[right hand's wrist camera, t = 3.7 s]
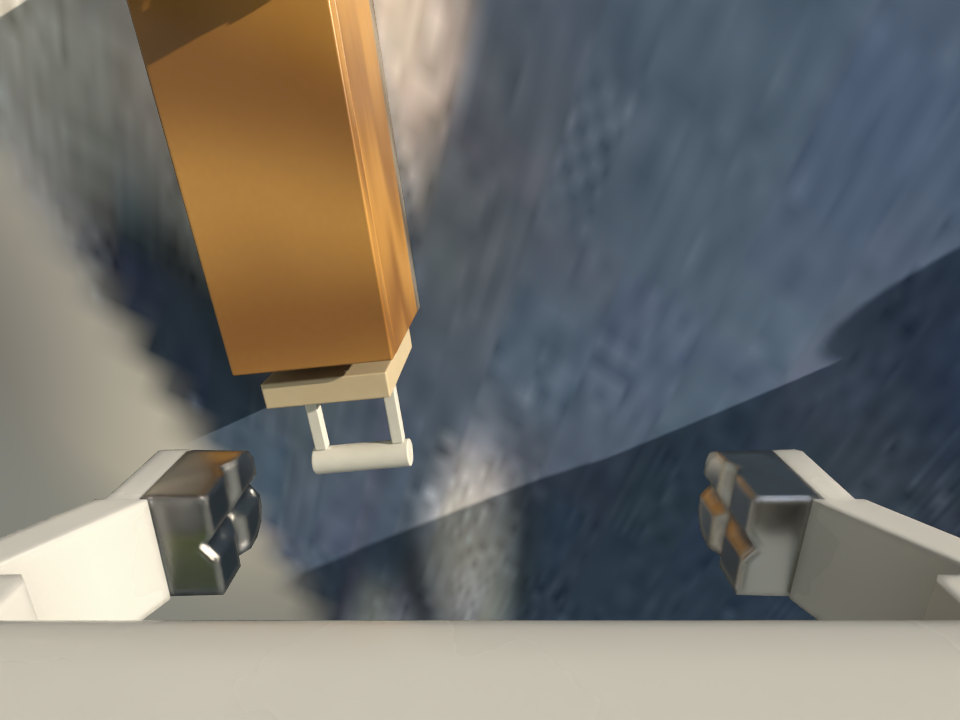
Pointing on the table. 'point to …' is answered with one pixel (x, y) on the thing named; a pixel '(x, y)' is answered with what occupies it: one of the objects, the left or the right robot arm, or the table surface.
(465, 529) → the table surface
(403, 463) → the drawer
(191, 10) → the cabinet
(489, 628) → the right robot arm
